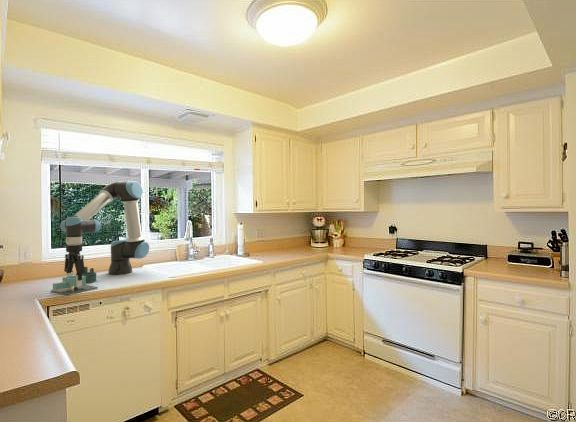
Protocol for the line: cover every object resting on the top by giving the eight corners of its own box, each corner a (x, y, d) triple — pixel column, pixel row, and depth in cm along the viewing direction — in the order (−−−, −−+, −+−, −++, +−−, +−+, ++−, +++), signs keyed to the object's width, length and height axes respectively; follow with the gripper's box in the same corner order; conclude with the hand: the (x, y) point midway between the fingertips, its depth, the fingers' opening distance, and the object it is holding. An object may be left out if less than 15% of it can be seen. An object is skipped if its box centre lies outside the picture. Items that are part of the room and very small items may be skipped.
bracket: (85, 280, 204) (84, 266, 204) (99, 280, 205) (99, 266, 205) (76, 283, 195) (76, 269, 195) (91, 283, 196) (91, 268, 196)
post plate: (81, 285, 190) (81, 277, 190) (97, 288, 182) (97, 279, 182) (50, 291, 175) (50, 282, 175) (67, 295, 168) (67, 285, 168)
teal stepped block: (77, 283, 184) (77, 275, 184) (85, 285, 180) (85, 276, 180) (50, 288, 172) (50, 279, 172) (58, 290, 168) (58, 280, 168)
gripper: (56, 244, 180) (56, 284, 180) (77, 246, 170) (78, 288, 170) (70, 243, 187) (70, 282, 187) (92, 244, 177) (92, 285, 177)
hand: (74, 285), depth 179 cm, fingers closed on teal stepped block, 8 cm apart
